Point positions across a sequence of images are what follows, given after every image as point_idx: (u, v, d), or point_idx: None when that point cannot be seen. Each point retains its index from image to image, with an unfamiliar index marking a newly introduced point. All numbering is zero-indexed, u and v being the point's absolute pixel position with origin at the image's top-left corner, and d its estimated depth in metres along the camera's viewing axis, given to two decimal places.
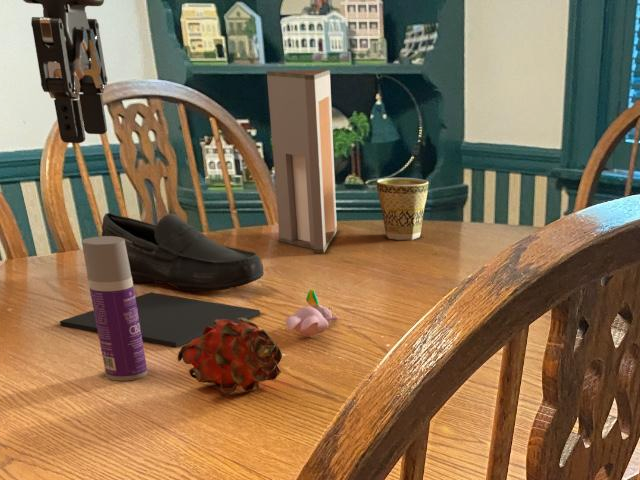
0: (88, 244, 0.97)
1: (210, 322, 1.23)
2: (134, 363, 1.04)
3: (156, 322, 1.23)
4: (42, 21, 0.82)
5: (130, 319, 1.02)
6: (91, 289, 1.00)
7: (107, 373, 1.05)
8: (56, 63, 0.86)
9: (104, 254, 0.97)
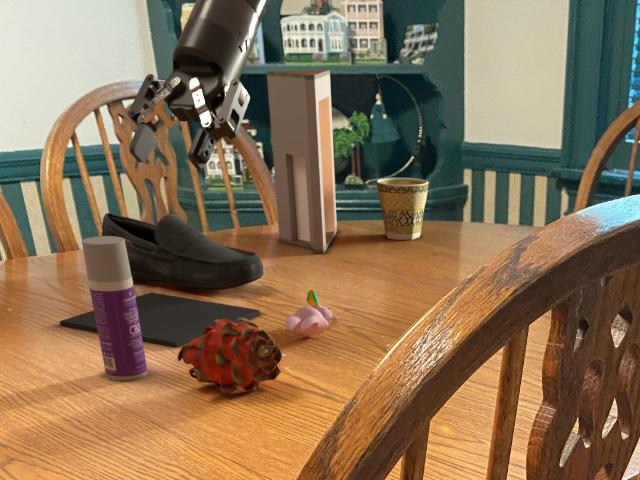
0: (88, 244, 0.97)
1: (210, 322, 1.23)
2: (134, 363, 1.04)
3: (156, 322, 1.23)
4: (243, 87, 1.03)
5: (130, 319, 1.02)
6: (91, 289, 1.00)
7: (107, 373, 1.05)
8: (210, 109, 1.03)
9: (104, 254, 0.97)
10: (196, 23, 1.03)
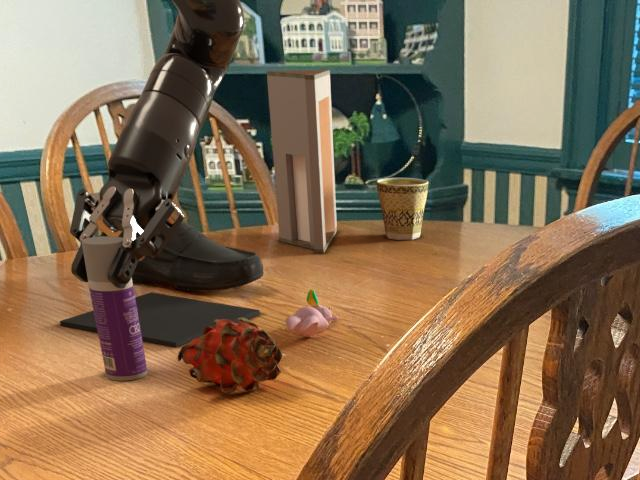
0: (88, 244, 0.97)
1: (210, 322, 1.23)
2: (134, 363, 1.04)
3: (156, 322, 1.23)
4: (176, 208, 0.98)
5: (130, 319, 1.02)
6: (91, 289, 1.00)
7: (107, 373, 1.05)
8: (138, 226, 0.99)
9: (104, 254, 0.97)
10: (131, 132, 0.98)
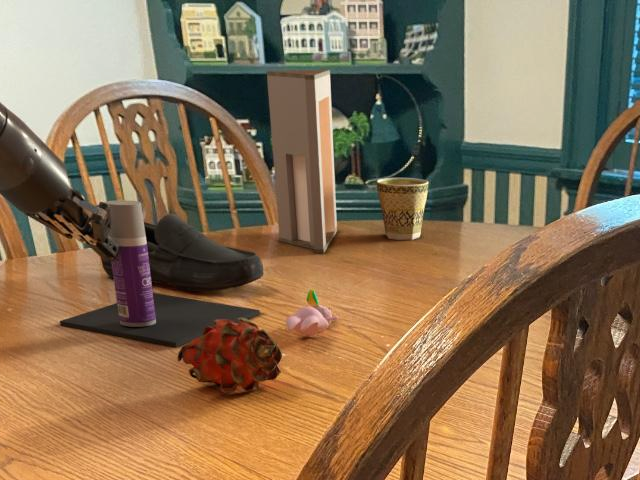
0: (110, 204, 1.13)
1: (210, 322, 1.23)
2: (145, 311, 1.20)
3: (156, 322, 1.23)
4: None
5: (143, 272, 1.18)
6: None
7: (121, 320, 1.21)
8: None
9: (123, 213, 1.13)
10: None
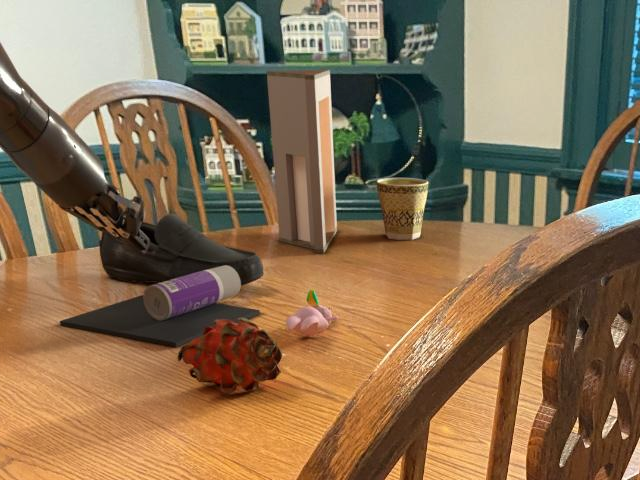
0: None
1: (210, 322, 1.23)
2: (179, 307, 1.23)
3: (156, 322, 1.23)
4: None
5: (203, 302, 1.27)
6: (207, 272, 1.29)
7: (160, 285, 1.21)
8: None
9: (235, 281, 1.32)
10: None
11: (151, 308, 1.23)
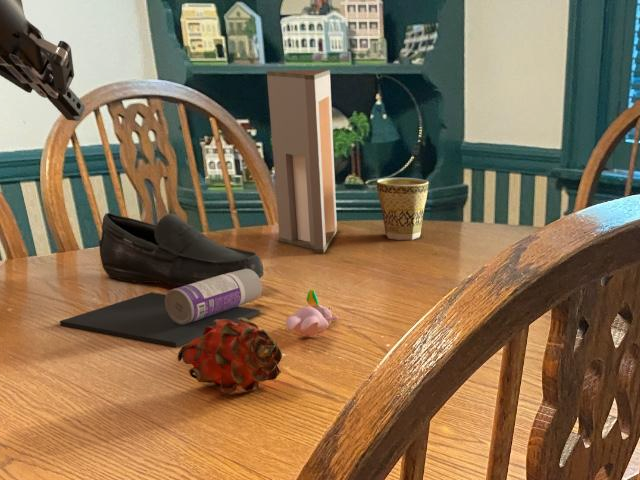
0: (259, 296, 1.32)
1: (210, 322, 1.23)
2: None
3: (156, 322, 1.23)
4: None
5: None
6: (240, 298, 1.28)
7: (194, 314, 1.21)
8: None
9: None
10: None
11: (173, 296, 1.21)
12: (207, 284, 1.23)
